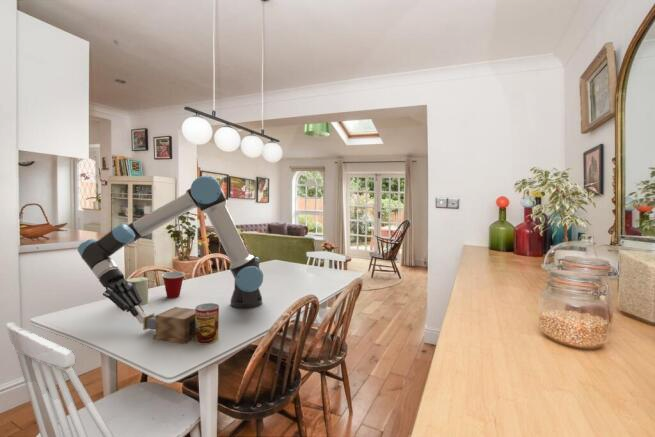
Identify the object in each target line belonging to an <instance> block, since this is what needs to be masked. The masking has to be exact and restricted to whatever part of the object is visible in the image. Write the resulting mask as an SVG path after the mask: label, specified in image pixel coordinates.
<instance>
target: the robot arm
mask: <svg viewBox="0 0 655 437" xmlns="http://www.w3.org/2000/svg"><path fill="white" fill-rule="evenodd" d="M191 183H192V184H191V185H190V188H189V189H187V190H186V191H185V193H184V194H182V195H180V196H179V197H177V198H175V199H173V200H171V201H169V202H168V203H165V204H164V205H162V206H160V207H158V208H156V209H155V210H153V211H151V212H149V213H147V214H145V215H144V216H141V217H140V218H138V219H137V220H135V221H133V222H130V223H129V224H125V223H120V224H119V225H117V226H116V227H113V229H111V230H110V231H109V232H107V233H106V234H105V235H103V236H102V237H100V238H99V239H95V238H90V239H87V240H86V241H83V242H82V243H80V244H79V245H78V247H77V252H78V254H79V255H80V257H81V259H82V260H83V261H84V263H86V265H87V266H88V268H89V269H90V270H91V272H92V273H93V275H94V276H95V277H96V278H97V280H98V282H99V283H100V284H101V286H103V287H104V288H105V291H104V292H103V293H102V296H103V297H106V298H108V299H109V300H110V301H111V302H112V303H113V304H114V305H116V307H118V308H119V309H120V310H121V311H122V312H126V313H130V314H131V315H132V316H133V318H136V320H137V321H138V322H139V324H140V325H143V317H146V316H147V315H146V314H145V313H144V309H143V308H142V306H141V305H140V303H141V302H142V299H141V297H140V295H139V293H138V291H137V289H136V284H135V282H133V283H128V281H127V280H128V279H125V276H124V275H125V274H124V273H123V272H122V271H121V269H120V268H119V266H118V265H117V264H116V263H115V261H114V260H113V259H112V257H111V256H112V255H113V254H115V253H117V252H118V251H119V250H121V249H122V248H123V247H125V246H128V245H131V244H134V243H135V242H136V241H138V240H140V239H141V238H143V237H145V236H147V235H148V234H151V233H152V232H154V231H155V230H157V229H160V228H161V227H163V226H165V225H166V224H168V223H170V222H172V221H173V220H175V219H177V218H179V217H181V216H183V215H184V214H186V213H188V212H190V211H191V210H192V211H193V209H199V210H200V212H202V213H203V214H206V216H207V218H208V220H209V221H210V223H211V225H212V227H213V228H212V229H213V230H214V232H215V234H216V235H217V237H218V240H219V241H220V244H221V245H222V248H223V250H224V251H225V253H226V256H227V257H228V260H229V262H230V265H229V270H230V273H231V274H232V277H233V278H234V289H233V292H232V295H231V298H230V306H231V307H233V308H237V309H251V308H256V307H259V306H261V305H262V304H263V297H262V293H261V291H260V287H261V286H262V285H263V282H264V274H263V271H262V270H261V268H260V258H259V257H257V256H256V257H255V256H254V255H253V254H249V251H248V249H247V247H246V245H245V242H244V241H243V239H242V237H241V234H240V232H239V231H238V229H237V226H236V223H235V222H234V220H233V218H232V216H231V214H230V212H229V210H228V207H227V206H226V205H227V204H228V203H227V202H228V200H227V198H226V195H225V193H224V191H223V189H222V186H221V183H220V182H219V181H218V180H217V178H215V177H214V176H211V175H202V176H198V177H197V178H195V179H194V180H193V181H192V182H191Z"/></svg>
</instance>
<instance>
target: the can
mask: <svg viewBox="0 0 655 437" xmlns="http://www.w3.org/2000/svg"><path fill="white" fill-rule="evenodd" d="M126 280H127V281H128V283H133V282H135V284H136V289H137V291H138V293H139V295H140V297H141V299H142V302H141V303H140V306H143V305H146V304H148V303H149V277H132V278H128V279H126Z"/></svg>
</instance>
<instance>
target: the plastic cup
mask: <svg viewBox="0 0 655 437" xmlns="http://www.w3.org/2000/svg"><path fill="white" fill-rule="evenodd" d="M185 275H186V274H185V272H183V271H169V272H168V271H167V272H164V273H162V274H161V277H162V280H163V284H164V289H165V293H166V297H167V298H168V299H175V298H178V297H180V295H181V290H182V285H183V280H184V278H185Z"/></svg>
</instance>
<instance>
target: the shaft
mask: <svg viewBox="0 0 655 437" xmlns="http://www.w3.org/2000/svg"><path fill="white" fill-rule="evenodd" d="M142 327H143V328H142V329H143V331H146V330H155V331H156V314H155V313H153V312H152V313H151V314H148V315H146V317H143V323H142ZM189 334H190V335H193V334H195V321H193V322H192V323H190V329H189Z"/></svg>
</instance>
